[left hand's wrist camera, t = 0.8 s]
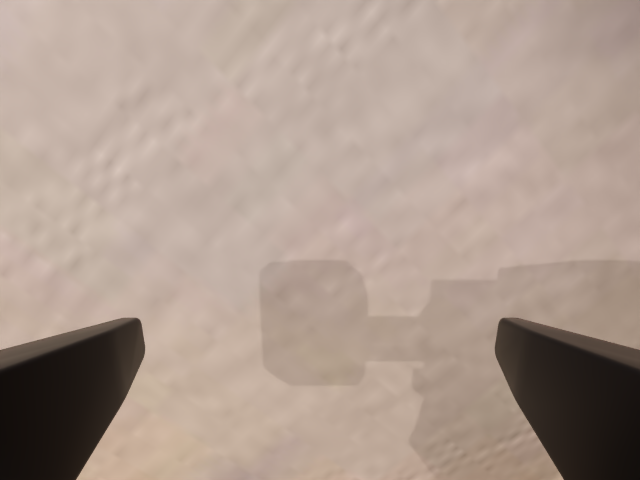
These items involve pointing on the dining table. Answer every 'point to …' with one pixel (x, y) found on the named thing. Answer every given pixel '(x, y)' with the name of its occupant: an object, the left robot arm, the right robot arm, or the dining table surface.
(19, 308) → the dining table surface
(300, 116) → the dining table surface
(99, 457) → the dining table surface
